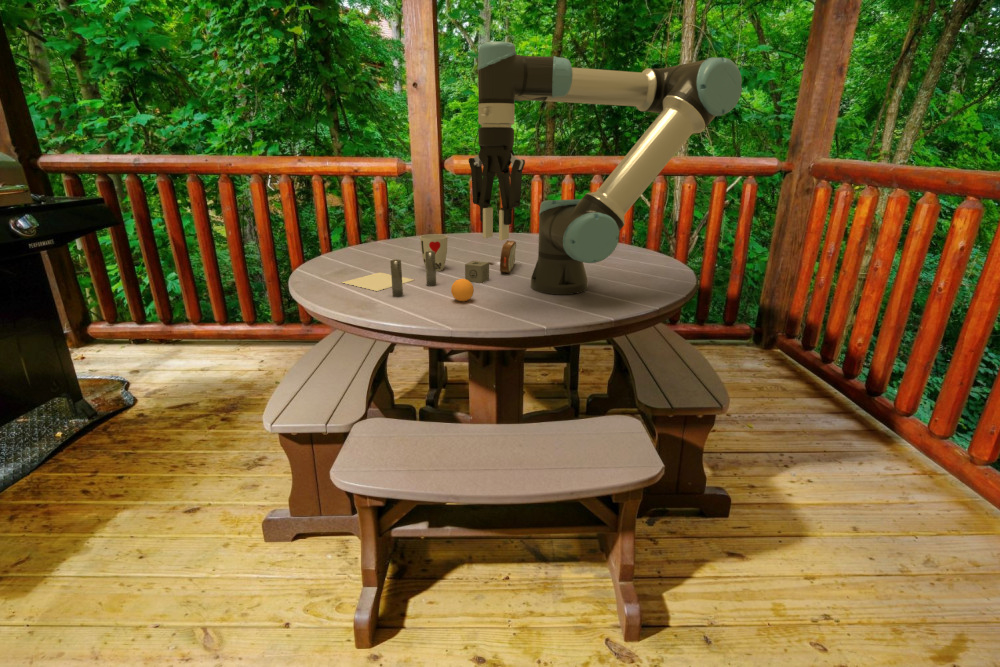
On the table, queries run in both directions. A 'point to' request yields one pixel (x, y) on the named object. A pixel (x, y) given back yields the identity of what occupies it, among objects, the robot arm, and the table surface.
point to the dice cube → (477, 271)
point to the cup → (435, 248)
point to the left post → (396, 278)
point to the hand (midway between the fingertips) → (495, 237)
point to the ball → (462, 290)
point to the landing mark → (375, 281)
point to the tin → (507, 256)
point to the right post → (430, 268)
